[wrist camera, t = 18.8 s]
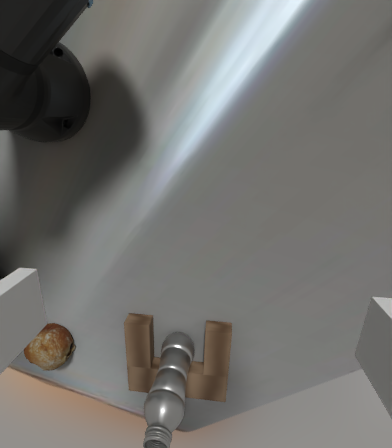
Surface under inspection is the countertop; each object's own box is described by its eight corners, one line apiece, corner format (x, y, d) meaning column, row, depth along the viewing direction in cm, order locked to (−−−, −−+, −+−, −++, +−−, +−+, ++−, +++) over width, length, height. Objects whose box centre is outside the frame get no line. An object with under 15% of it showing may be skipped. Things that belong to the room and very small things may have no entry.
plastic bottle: (183, 357, 57) (161, 469, 38) (158, 339, 56) (123, 445, 37) (202, 340, 55) (189, 450, 36) (176, 321, 54) (150, 424, 35)
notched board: (133, 378, 60) (129, 390, 57) (129, 313, 54) (124, 323, 51) (225, 389, 58) (225, 402, 56) (231, 322, 52) (231, 333, 50)
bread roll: (78, 346, 64) (76, 374, 57) (29, 356, 60) (20, 387, 53) (74, 312, 60) (71, 337, 53) (22, 321, 57) (11, 348, 50)
